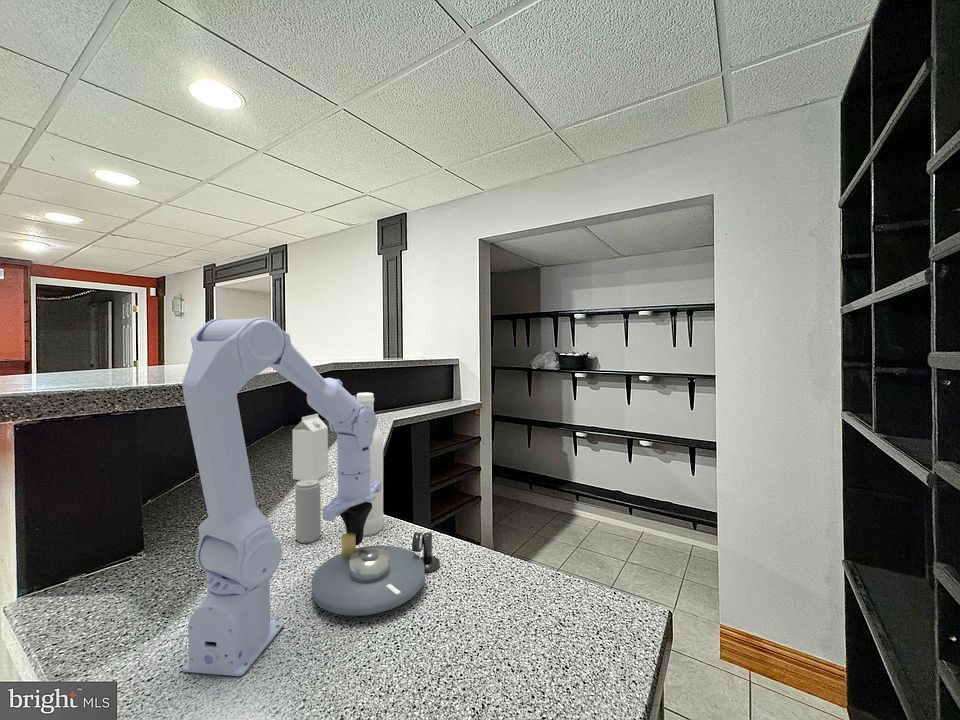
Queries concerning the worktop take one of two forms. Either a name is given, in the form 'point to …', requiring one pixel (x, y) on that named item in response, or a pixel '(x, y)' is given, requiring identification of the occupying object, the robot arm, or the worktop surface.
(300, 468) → the milk carton
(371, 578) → the cover
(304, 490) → the beverage can
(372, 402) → the bottle
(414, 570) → the turntable
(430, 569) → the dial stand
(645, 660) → the worktop surface
